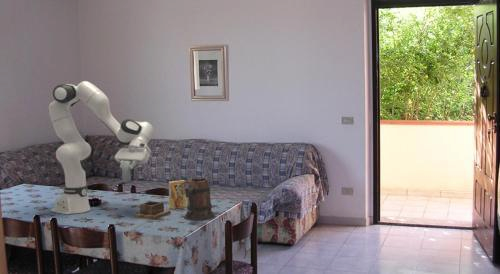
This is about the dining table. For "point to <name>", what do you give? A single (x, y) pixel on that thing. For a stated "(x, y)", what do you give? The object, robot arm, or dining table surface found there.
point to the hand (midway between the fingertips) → (125, 168)
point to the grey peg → (126, 171)
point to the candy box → (177, 194)
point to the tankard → (199, 200)
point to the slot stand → (152, 210)
